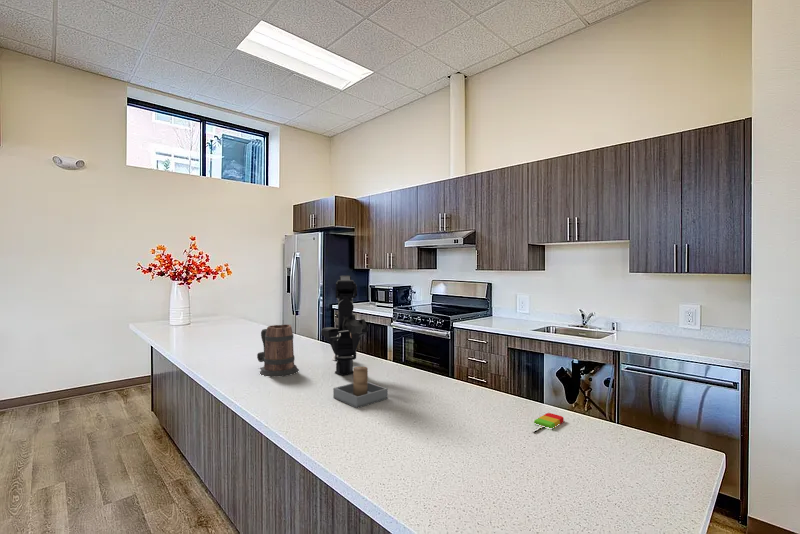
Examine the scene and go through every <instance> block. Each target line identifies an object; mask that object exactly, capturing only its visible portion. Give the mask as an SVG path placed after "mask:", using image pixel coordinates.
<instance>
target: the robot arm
mask: <svg viewBox="0 0 800 534" xmlns="http://www.w3.org/2000/svg"><path fill="white" fill-rule="evenodd" d="M357 296H358V285H357V283H356V282H354V279H352V276H351V275H339V279H337V281H336V282H335V299H337V303H338V304H337V314H336V315H335V317H336V318H337V324H336V325H335V327H331V326H329V327H328V326H327V327H323V328H322V329H321V332H320V335H321V336H324V337H323V338H326V339H327V341H328V343H329V345H330V347H331V350H332V353H333V352H334V354H335V360H337V361H336V363H335V366H336V367H335V371H334V374H337V375H340V376H348V375H351V374H352V375H353V368H354V366H353V365H354V360H357V348H358V345H359V342H360V340H361V338H362V337H363V335H366V333H368V332H369V326H368V325H367V324H366V323H367V322H366V319H364V318H361V319H356V315H355V314H354V309H355V308H354V306H355V305H354V300H353V299H356V298H357ZM337 328H338V329H337ZM338 333H341V335H340V337H337V335H338ZM350 334H351V335H350ZM338 338H339V339H338Z"/></svg>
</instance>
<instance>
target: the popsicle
mask: <svg viewBox="0 0 800 534" xmlns="http://www.w3.org/2000/svg"><path fill="white" fill-rule="evenodd" d="M563 421H564V422H565V419H564V417H563V416H562V415H558V414H555V413H552V412H546V413H545V414H543V415H541V416H540V417H538V418H536V419H534V421H533V424H534V423H536V424H539V425H541V426H540V427H542V426H545V427H549V428H553V427H555V426H557V425H558V424H560V423H562V422H563ZM564 422H563V423H564ZM563 423H562V424H563ZM560 425H561V424H560ZM557 427H558V426H557Z"/></svg>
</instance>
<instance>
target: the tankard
mask: <svg viewBox="0 0 800 534" xmlns="http://www.w3.org/2000/svg"><path fill="white" fill-rule="evenodd" d="M260 336H261V340H262V345H263V351H260V352H258V353H257V354H256V356H257V360H258V362H259V363H264V364H263V366H262V368H261V370H260V371H259V372H260V374H261V375H260V374H259V375H260V376H262V375H264V376H263V377H266V376H282V377H286V376H285V375H288V376H291V375H290V374H292V375H295V374H297V373H299V372H300V369H299V368H298V366H297V365H296V364H295V361H296V360H295V354H294V352H295V351H294V334H293V330H292V325H291V324H273V325H269V326H267V327H266V328H264V329H262V330H261V332H260ZM298 371H299V372H298ZM296 372H297V373H296ZM294 373H295V374H294Z"/></svg>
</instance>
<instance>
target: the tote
mask: <svg viewBox="0 0 800 534" xmlns="http://www.w3.org/2000/svg"><path fill="white" fill-rule="evenodd" d="M332 390H333V394H332V395H333V397H332V398H333V399H335V400H337V401H339V402H342V403H345V404H347V405H349V406H351V407H353V406H354V408H355V409H358V407H359V408H362V407H365V406H368V404H369V405H371V403H372V404H375V403H378V402H381V400H382V401H384V399H385V400H387V399H389V397H388V395H389V394H388V393H389V389H388V388H386V387H384V386H380V385H378V384H375V383H373V382H370V381H368V394H364V395H361V396H355V395H353V382H352V383H348V384H343V385H341V386H336V387H333V389H332ZM374 402H375V403H374ZM361 406H362V407H361Z"/></svg>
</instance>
